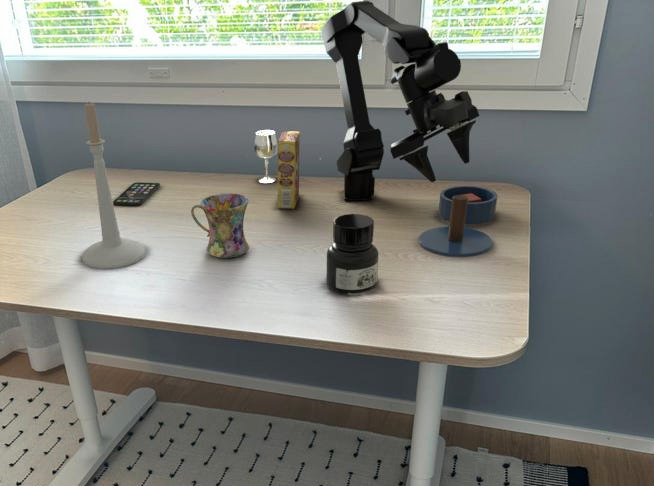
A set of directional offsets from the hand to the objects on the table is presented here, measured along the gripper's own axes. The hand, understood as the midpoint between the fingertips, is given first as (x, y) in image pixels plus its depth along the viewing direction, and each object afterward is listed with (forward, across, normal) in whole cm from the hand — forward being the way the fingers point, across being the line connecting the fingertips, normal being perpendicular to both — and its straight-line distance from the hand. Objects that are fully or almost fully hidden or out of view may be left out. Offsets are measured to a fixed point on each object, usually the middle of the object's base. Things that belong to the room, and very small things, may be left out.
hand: (450, 172), depth 135 cm
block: (+11, +6, +7) cm, 14 cm away
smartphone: (-25, -42, +58) cm, 76 cm away
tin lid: (+12, -7, -2) cm, 14 cm away
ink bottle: (+9, -33, -5) cm, 35 cm away
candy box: (-7, -17, +35) cm, 39 cm away
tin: (+11, +6, +8) cm, 15 cm away
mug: (-6, -44, +19) cm, 48 cm away
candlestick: (-14, -61, +29) cm, 69 cm away
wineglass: (-14, -12, +50) cm, 54 cm away
